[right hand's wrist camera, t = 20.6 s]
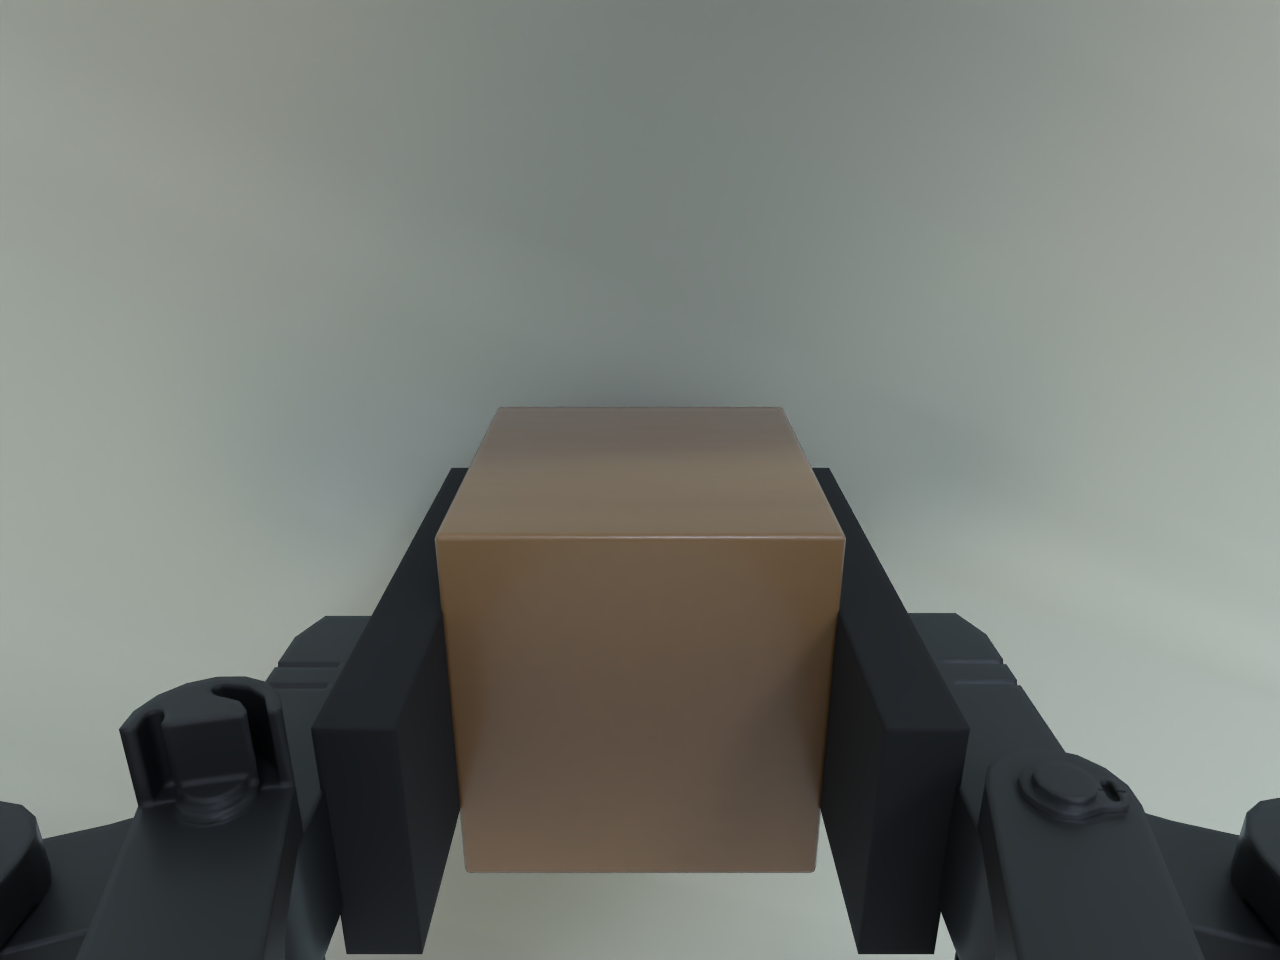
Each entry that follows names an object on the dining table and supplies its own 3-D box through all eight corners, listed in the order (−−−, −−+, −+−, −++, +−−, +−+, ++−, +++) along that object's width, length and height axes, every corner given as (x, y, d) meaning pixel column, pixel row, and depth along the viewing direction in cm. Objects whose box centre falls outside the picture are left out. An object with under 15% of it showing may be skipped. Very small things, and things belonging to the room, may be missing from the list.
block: (497, 405, 14) (432, 535, 10) (782, 405, 14) (847, 535, 10) (512, 665, 16) (464, 875, 11) (767, 665, 16) (816, 875, 11)
